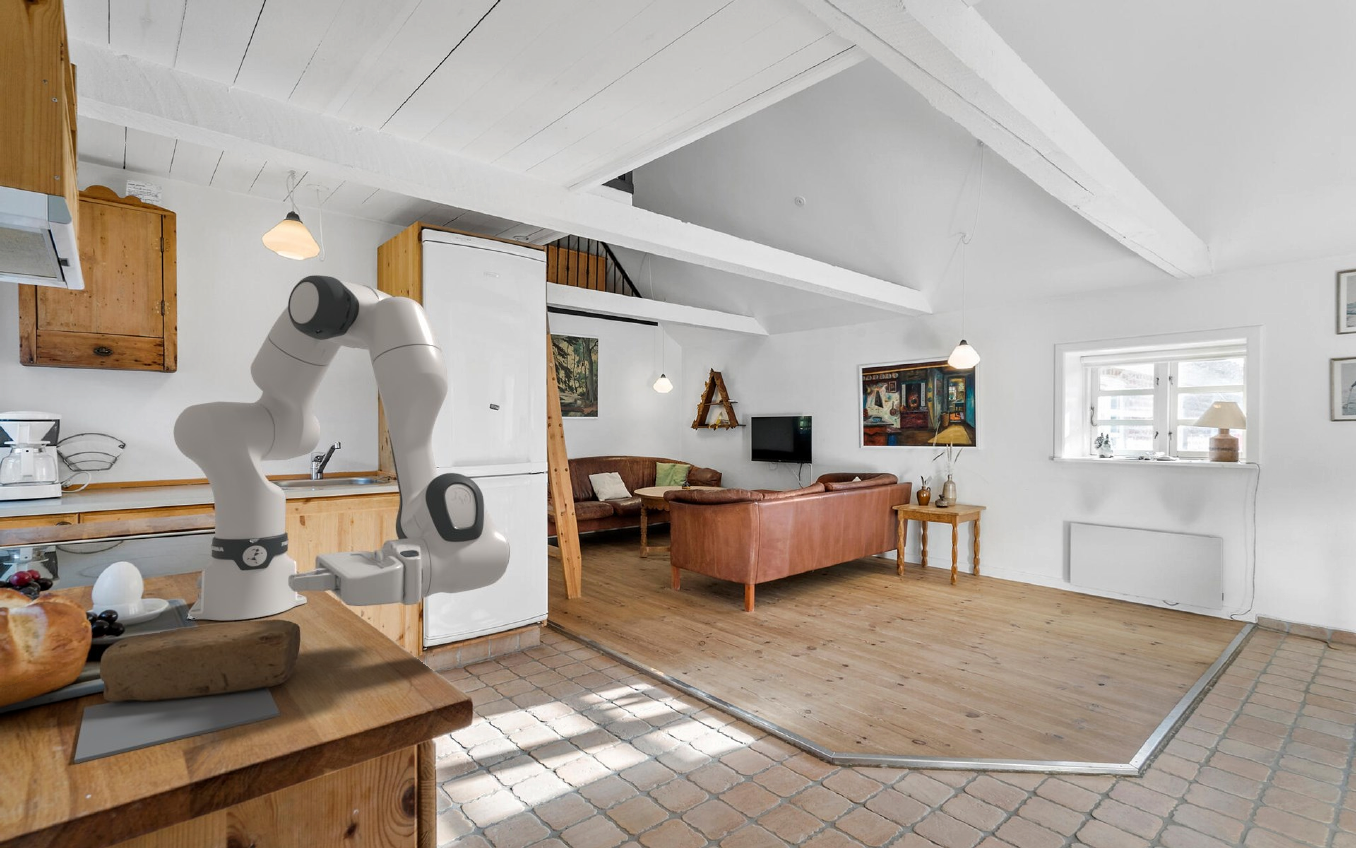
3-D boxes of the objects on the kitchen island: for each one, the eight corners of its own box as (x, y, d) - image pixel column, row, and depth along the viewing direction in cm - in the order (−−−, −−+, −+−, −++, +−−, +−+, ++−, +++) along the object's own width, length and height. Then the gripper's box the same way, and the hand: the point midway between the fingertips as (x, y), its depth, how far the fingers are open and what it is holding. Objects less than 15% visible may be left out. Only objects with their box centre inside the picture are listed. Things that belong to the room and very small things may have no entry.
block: (285, 633, 83) (92, 650, 77) (285, 691, 83) (92, 714, 77) (303, 610, 94) (135, 625, 87) (303, 663, 94) (134, 681, 87)
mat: (84, 710, 78) (84, 707, 78) (260, 676, 90) (260, 673, 90) (74, 764, 66) (74, 760, 66) (279, 716, 77) (279, 712, 77)
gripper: (380, 538, 102) (277, 547, 93) (423, 559, 86) (305, 572, 77) (379, 578, 102) (276, 591, 93) (422, 606, 86) (304, 625, 77)
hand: (290, 583), depth 85 cm, fingers closed
